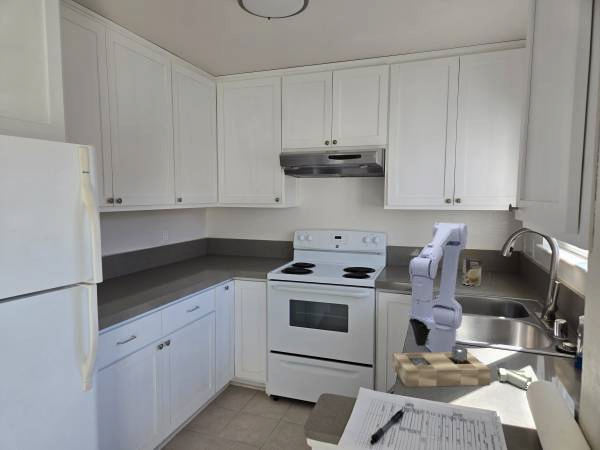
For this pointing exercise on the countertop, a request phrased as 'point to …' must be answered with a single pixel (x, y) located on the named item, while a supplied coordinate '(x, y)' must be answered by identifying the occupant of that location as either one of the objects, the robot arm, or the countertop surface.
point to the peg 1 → (419, 362)
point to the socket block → (439, 370)
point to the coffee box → (471, 271)
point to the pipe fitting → (515, 377)
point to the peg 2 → (459, 355)
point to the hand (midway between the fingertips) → (420, 344)
